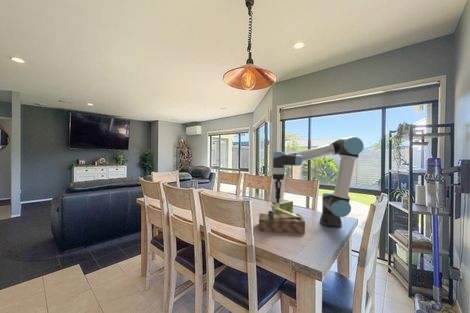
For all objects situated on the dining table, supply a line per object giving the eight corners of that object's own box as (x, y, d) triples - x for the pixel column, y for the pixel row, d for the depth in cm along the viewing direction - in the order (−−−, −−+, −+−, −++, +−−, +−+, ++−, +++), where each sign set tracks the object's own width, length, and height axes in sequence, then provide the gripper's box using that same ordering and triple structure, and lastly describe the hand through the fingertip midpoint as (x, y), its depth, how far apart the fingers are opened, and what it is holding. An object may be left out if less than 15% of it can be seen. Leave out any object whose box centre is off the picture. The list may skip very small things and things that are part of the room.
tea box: (281, 223, 156) (282, 203, 156) (271, 220, 164) (271, 201, 164) (293, 219, 166) (293, 200, 166) (282, 216, 174) (282, 198, 174)
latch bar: (298, 217, 146) (299, 215, 146) (299, 219, 142) (300, 216, 142) (271, 206, 148) (271, 204, 148) (271, 207, 144) (272, 205, 144)
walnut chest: (301, 225, 151) (301, 210, 151) (305, 233, 137) (305, 217, 137) (259, 223, 155) (259, 209, 154) (259, 231, 141) (259, 215, 140)
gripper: (272, 172, 152) (271, 204, 153) (273, 174, 139) (272, 209, 140) (282, 172, 151) (282, 205, 152) (284, 174, 138) (284, 210, 139)
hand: (277, 207), depth 146 cm, fingers closed
